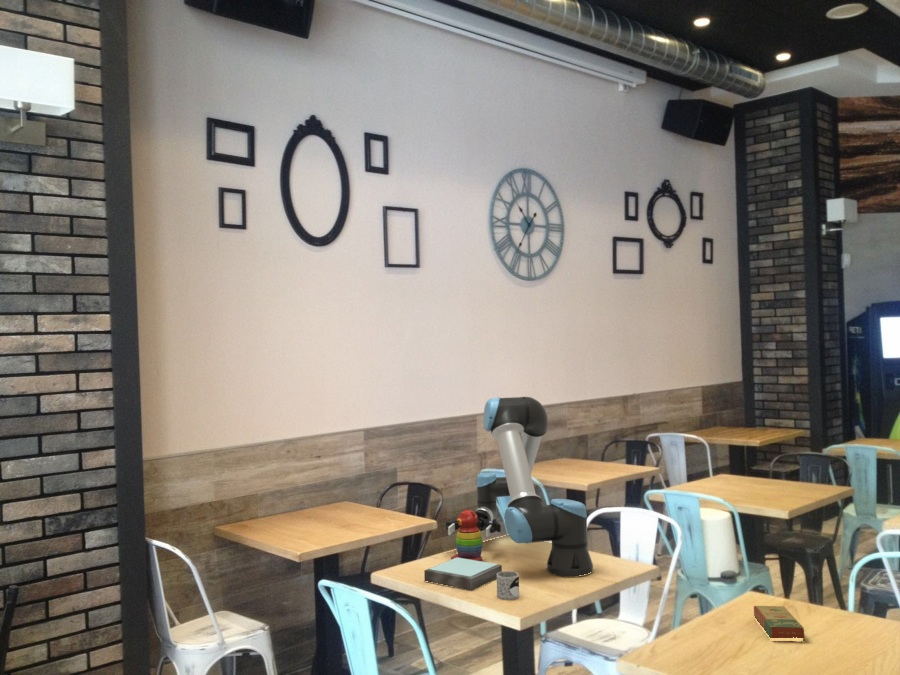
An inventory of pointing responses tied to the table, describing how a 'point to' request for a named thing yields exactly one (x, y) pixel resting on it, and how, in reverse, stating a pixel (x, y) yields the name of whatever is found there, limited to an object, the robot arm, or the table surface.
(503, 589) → the mug
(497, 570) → the plinth
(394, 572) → the table surface
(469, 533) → the stacking bear
